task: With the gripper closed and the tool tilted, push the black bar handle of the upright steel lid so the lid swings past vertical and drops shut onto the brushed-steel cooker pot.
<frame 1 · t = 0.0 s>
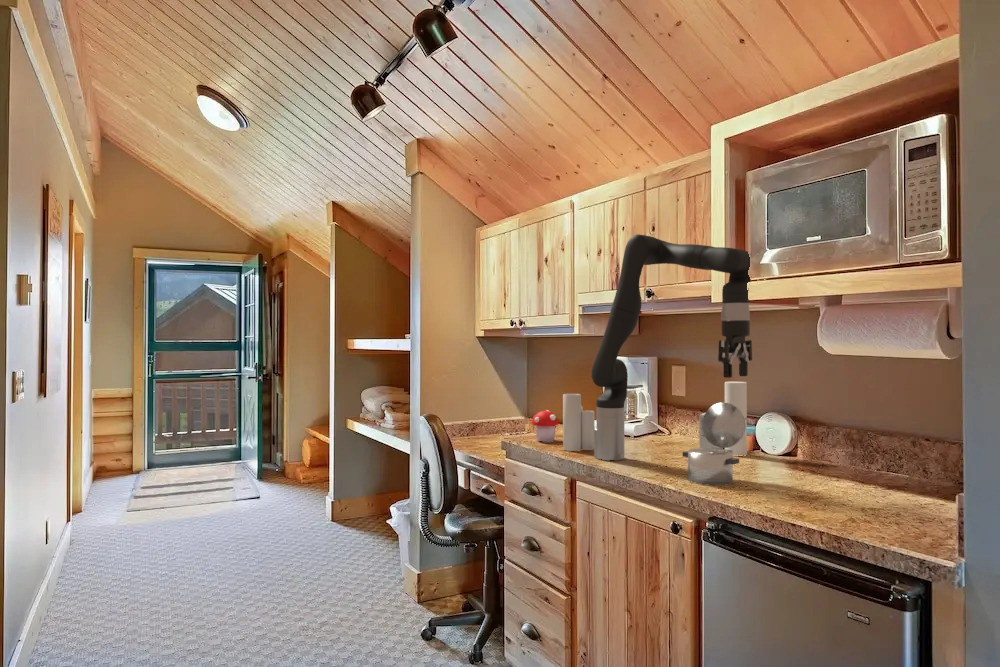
hand: (735, 376, 182), 29 cm above the table, tool pointing down, fingers open, 8 cm apart
supplement box: (712, 449, 235), on the table
lid: (725, 425, 188), point 15 cm above the table, hinge at 100.0°
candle: (578, 450, 234), on the table
mushroom: (544, 441, 253), on the table
pot: (710, 480, 182), on the table
cylindrical container: (735, 455, 223), on the table
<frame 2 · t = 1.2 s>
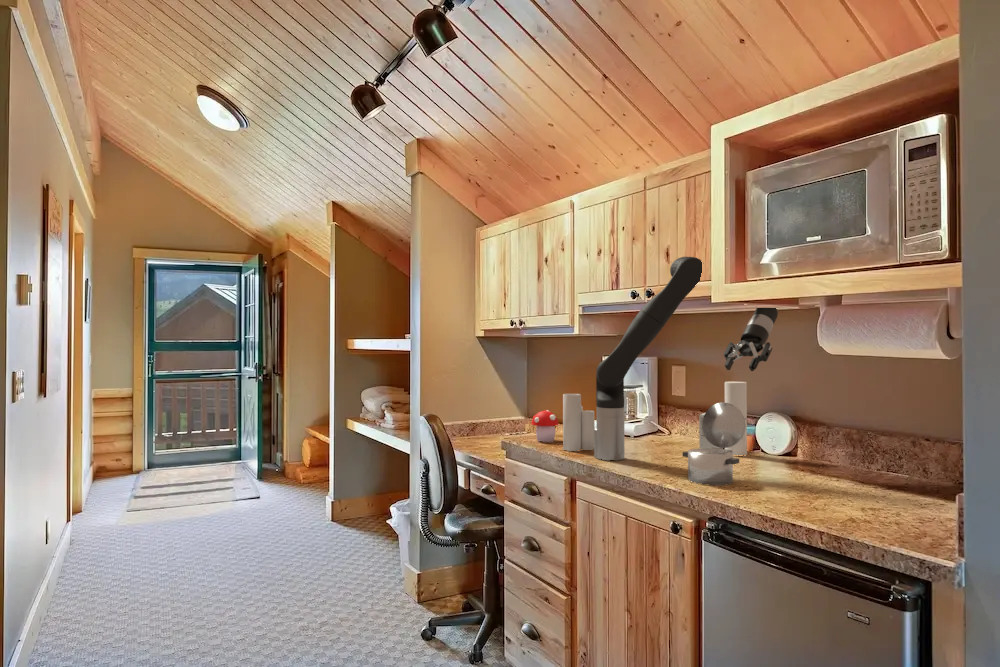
hand: (739, 368, 201), 31 cm above the table, tool tilted 45°, fingers open, 7 cm apart
nothing on the table moved.
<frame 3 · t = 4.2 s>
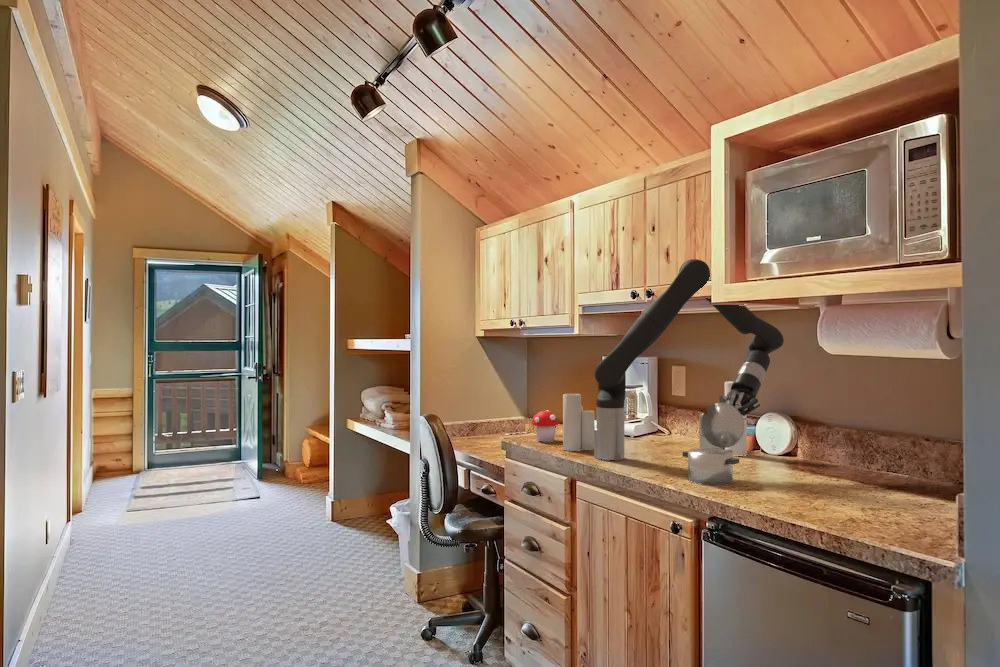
hand: (728, 423, 189), 15 cm above the table, tool tilted 45°, fingers closed
lid: (724, 425, 188), point 15 cm above the table, hinge at 95.1°, touching gripper
everything else where it was.
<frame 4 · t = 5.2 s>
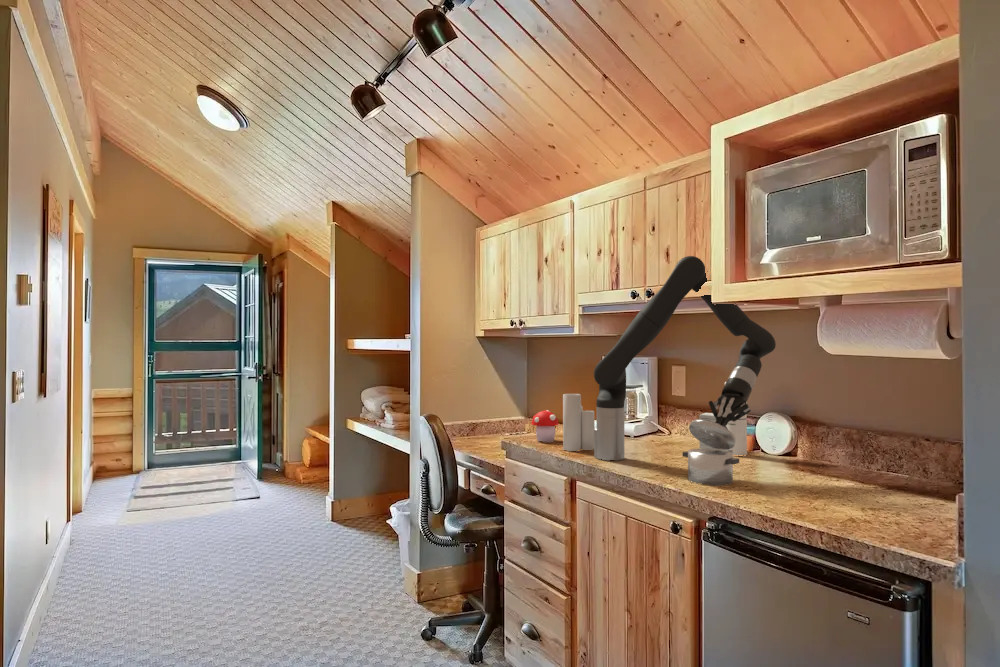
hand: (718, 429, 185), 14 cm above the table, tool tilted 45°, fingers closed
lid: (713, 431, 184), point 14 cm above the table, hinge at 41.5°
everything else where it was.
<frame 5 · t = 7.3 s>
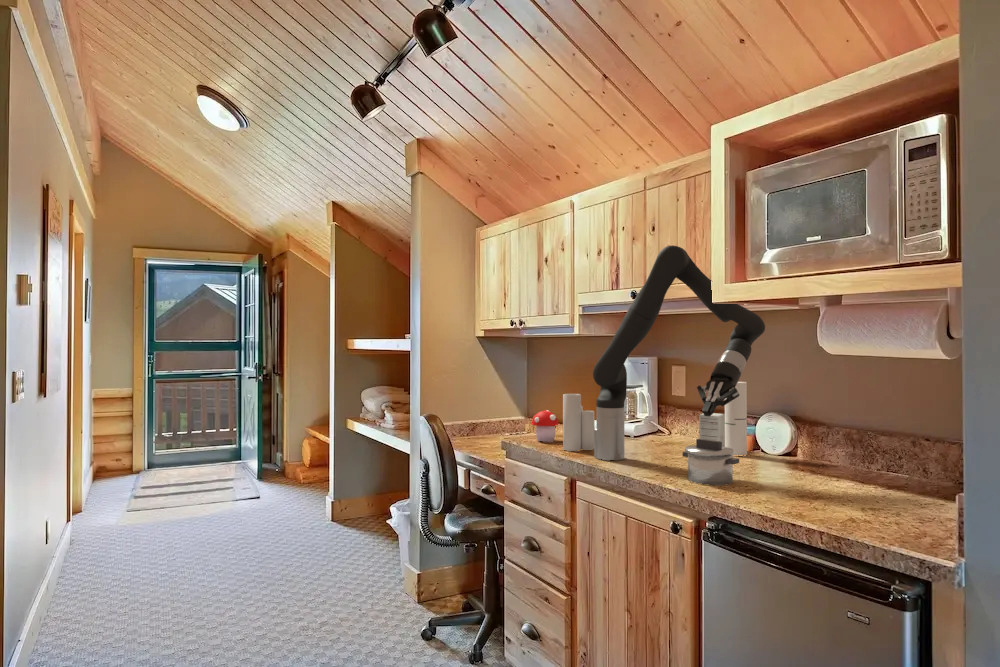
hand: (706, 414, 181), 19 cm above the table, tool tilted 45°, fingers closed
lid: (708, 446, 182), point 10 cm above the table, hinge at 0.0°, touching pot
everything else where it was.
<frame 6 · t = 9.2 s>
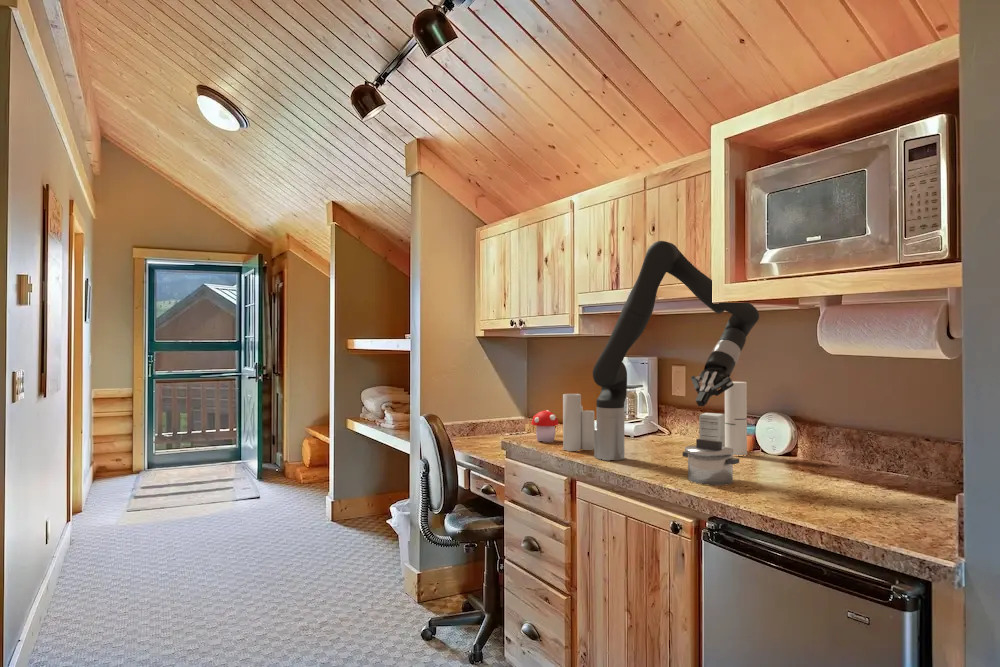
hand: (699, 404, 179), 22 cm above the table, tool tilted 45°, fingers closed
nothing on the table moved.
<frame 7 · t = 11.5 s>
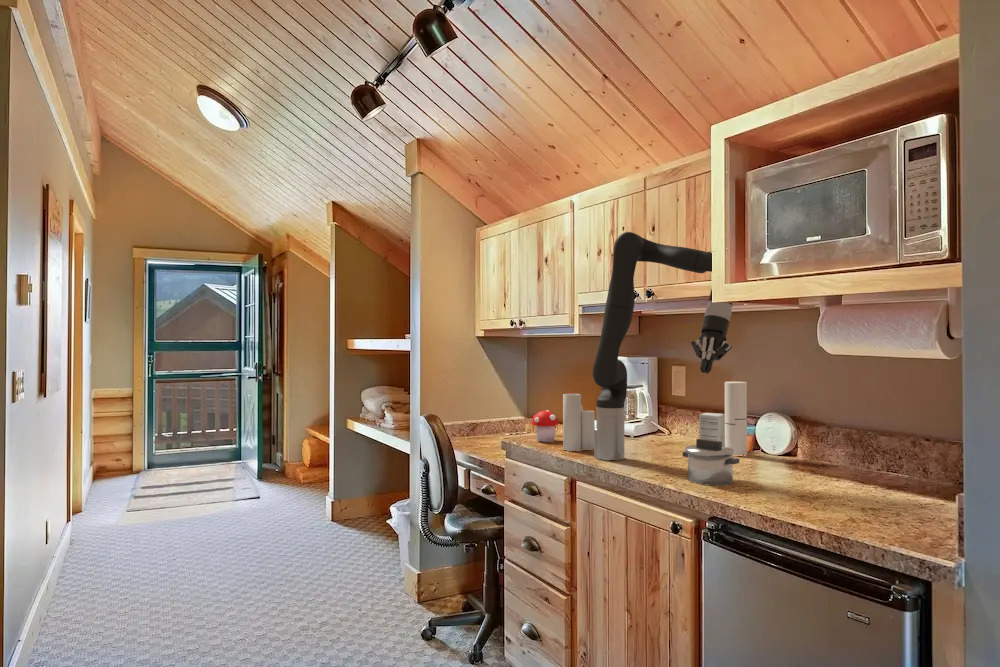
hand: (704, 372, 193), 30 cm above the table, tool tilted 20°, fingers closed
nothing on the table moved.
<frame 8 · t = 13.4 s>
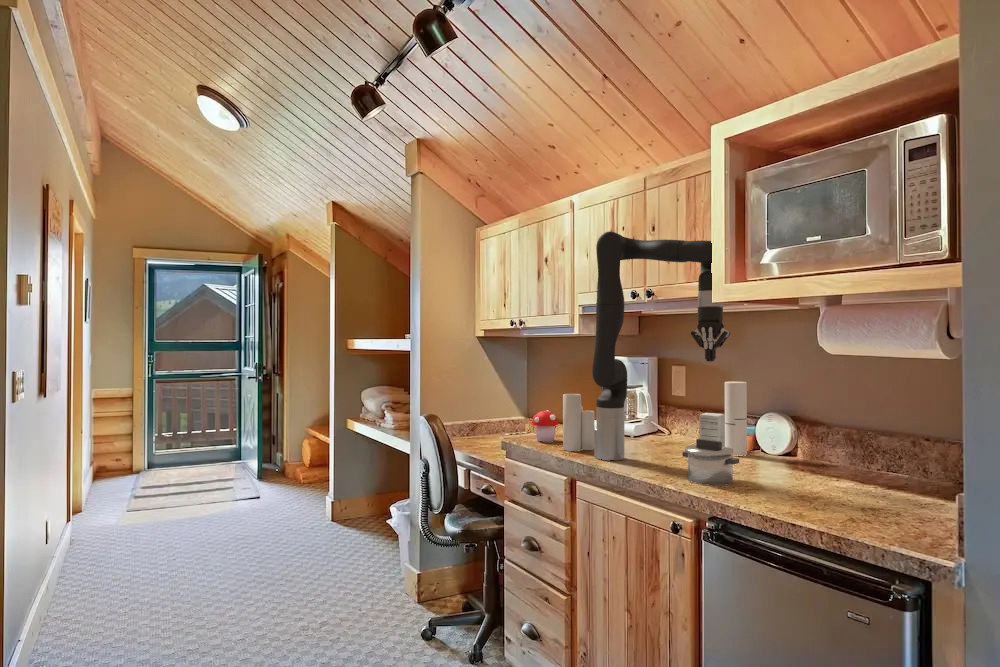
hand: (710, 361, 201), 33 cm above the table, tool pointing down, fingers closed
nothing on the table moved.
at the end: lid at +0° (first picture: +100°); the gripper is holding nothing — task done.
